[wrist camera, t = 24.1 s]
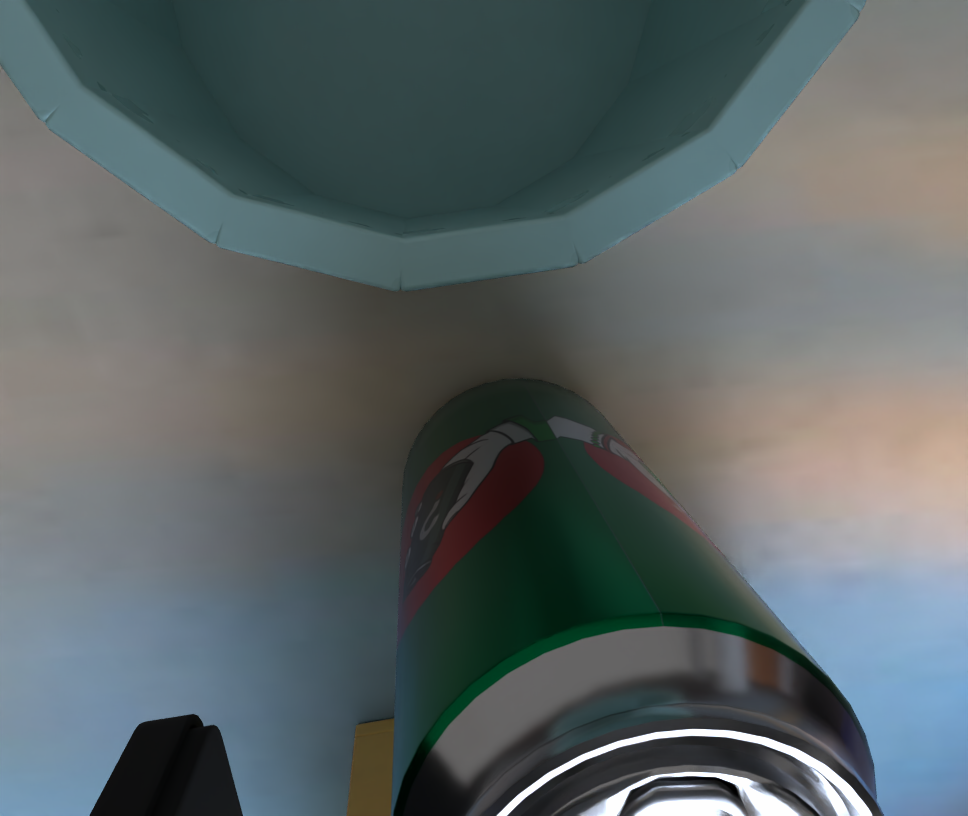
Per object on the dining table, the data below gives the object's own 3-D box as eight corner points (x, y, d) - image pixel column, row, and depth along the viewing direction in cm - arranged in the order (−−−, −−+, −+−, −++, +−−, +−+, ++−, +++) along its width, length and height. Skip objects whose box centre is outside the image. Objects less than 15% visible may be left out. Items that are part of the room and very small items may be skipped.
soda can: (401, 580, 19) (385, 1158, 8) (404, 370, 18) (387, 684, 6) (612, 579, 20) (895, 1124, 8) (628, 374, 18) (992, 673, 7)
